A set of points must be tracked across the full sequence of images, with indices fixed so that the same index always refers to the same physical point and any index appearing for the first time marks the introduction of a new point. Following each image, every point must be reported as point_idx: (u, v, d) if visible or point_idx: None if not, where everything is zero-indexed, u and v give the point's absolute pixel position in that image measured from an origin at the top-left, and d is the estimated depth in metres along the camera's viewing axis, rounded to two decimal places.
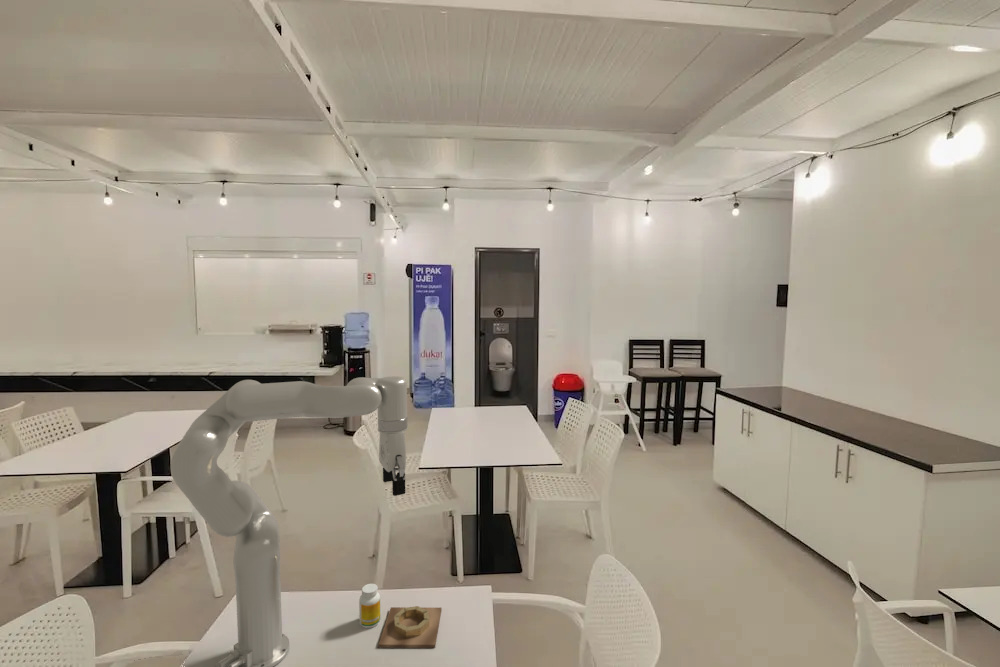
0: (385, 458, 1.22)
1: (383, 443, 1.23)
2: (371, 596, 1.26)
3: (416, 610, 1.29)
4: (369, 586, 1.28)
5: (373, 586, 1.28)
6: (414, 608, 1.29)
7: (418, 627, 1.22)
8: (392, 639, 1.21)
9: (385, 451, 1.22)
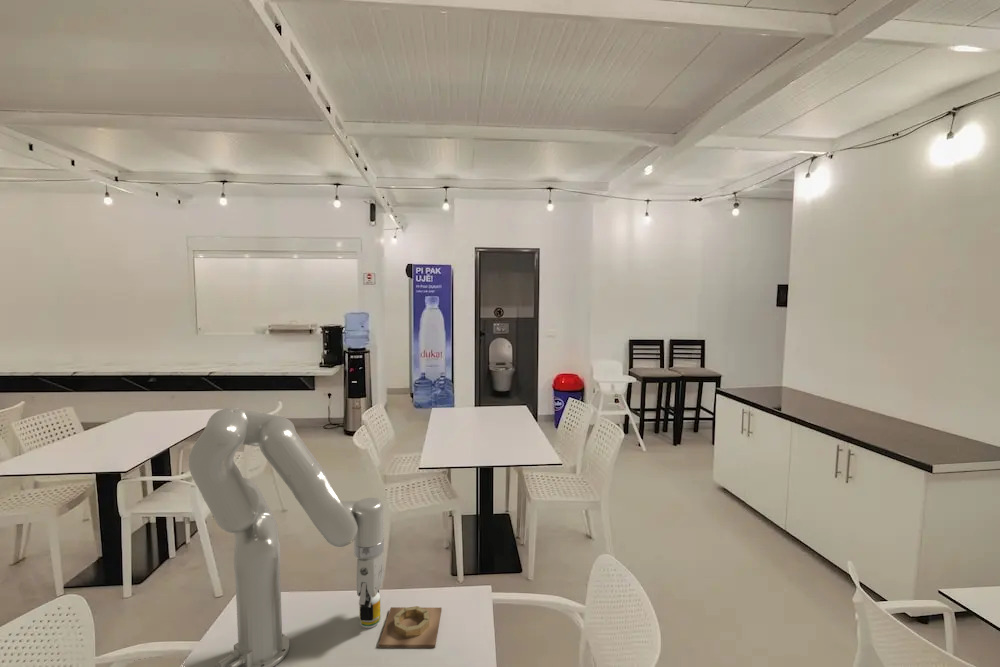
0: (382, 569, 1.30)
1: (381, 560, 1.28)
2: None
3: (416, 610, 1.29)
4: None
5: None
6: (414, 608, 1.29)
7: (418, 627, 1.22)
8: (392, 639, 1.21)
9: (382, 562, 1.30)
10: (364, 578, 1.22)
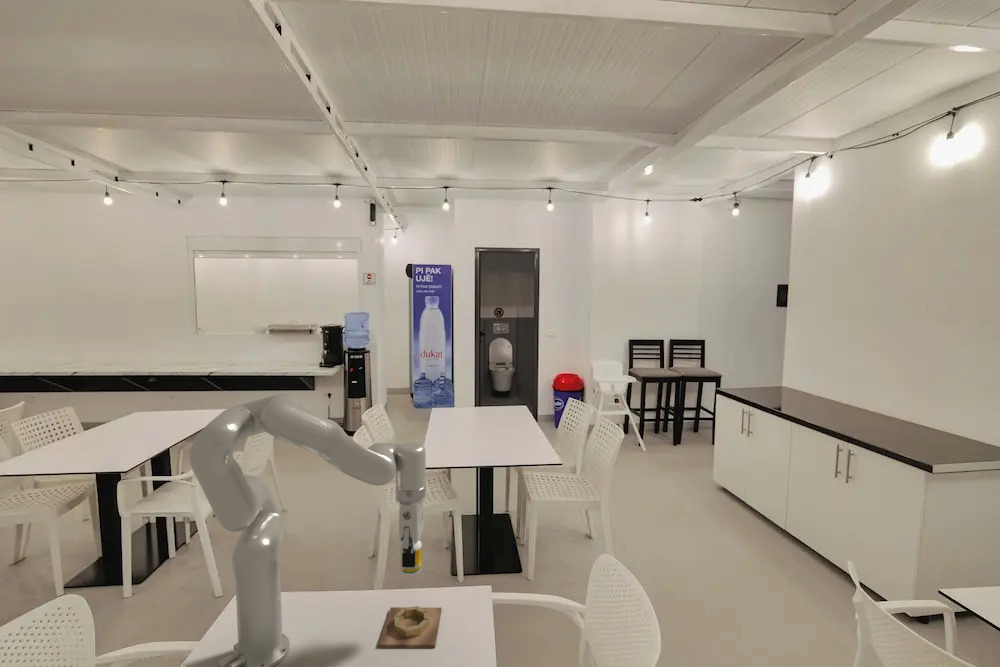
0: (423, 516, 1.26)
1: (422, 506, 1.24)
2: None
3: (416, 610, 1.29)
4: None
5: None
6: (414, 608, 1.29)
7: (418, 627, 1.22)
8: (392, 639, 1.21)
9: (423, 510, 1.26)
10: (407, 522, 1.18)
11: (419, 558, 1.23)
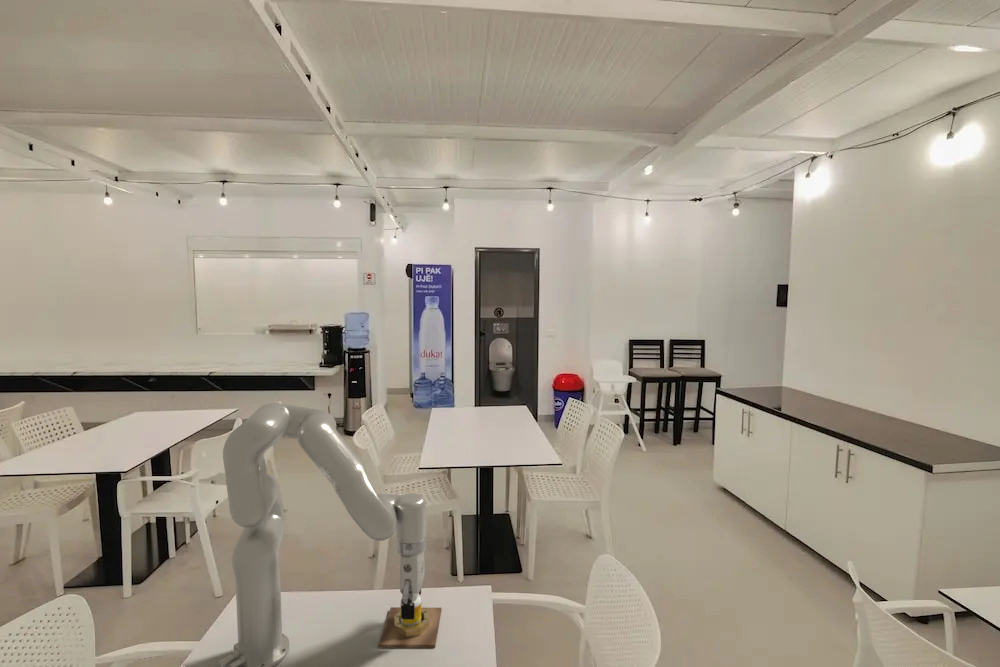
0: (423, 566, 1.27)
1: (422, 557, 1.25)
2: (413, 599, 1.23)
3: None
4: (410, 589, 1.25)
5: None
6: None
7: (418, 627, 1.22)
8: (392, 639, 1.21)
9: (423, 559, 1.27)
10: (408, 575, 1.19)
11: (419, 614, 1.24)
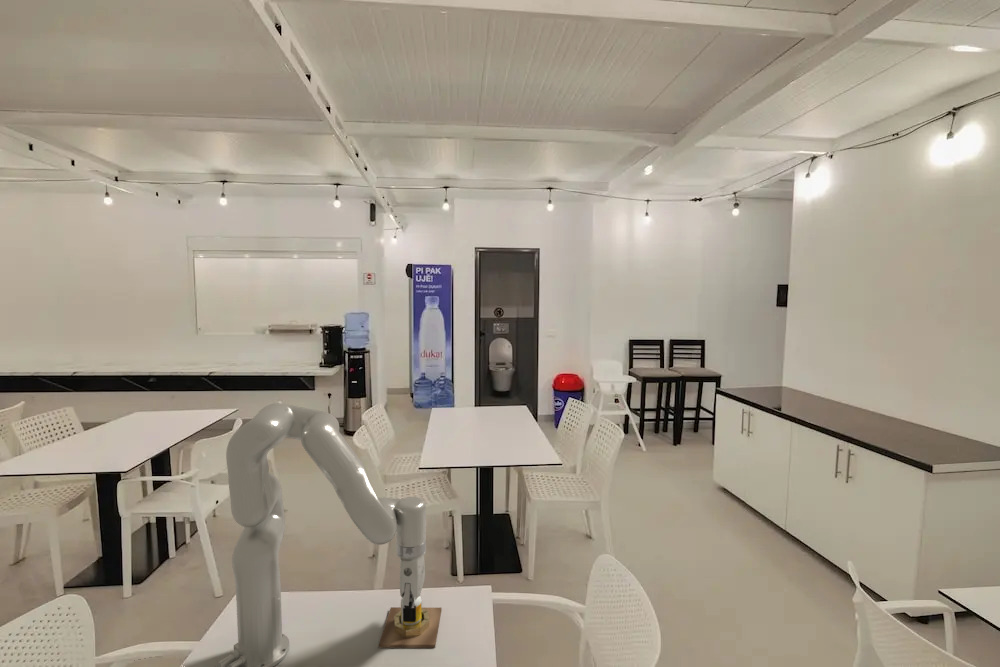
0: None
1: (423, 560, 1.25)
2: None
3: None
4: None
5: None
6: None
7: (418, 627, 1.22)
8: (392, 639, 1.21)
9: (423, 563, 1.27)
10: (408, 579, 1.19)
11: (419, 614, 1.24)
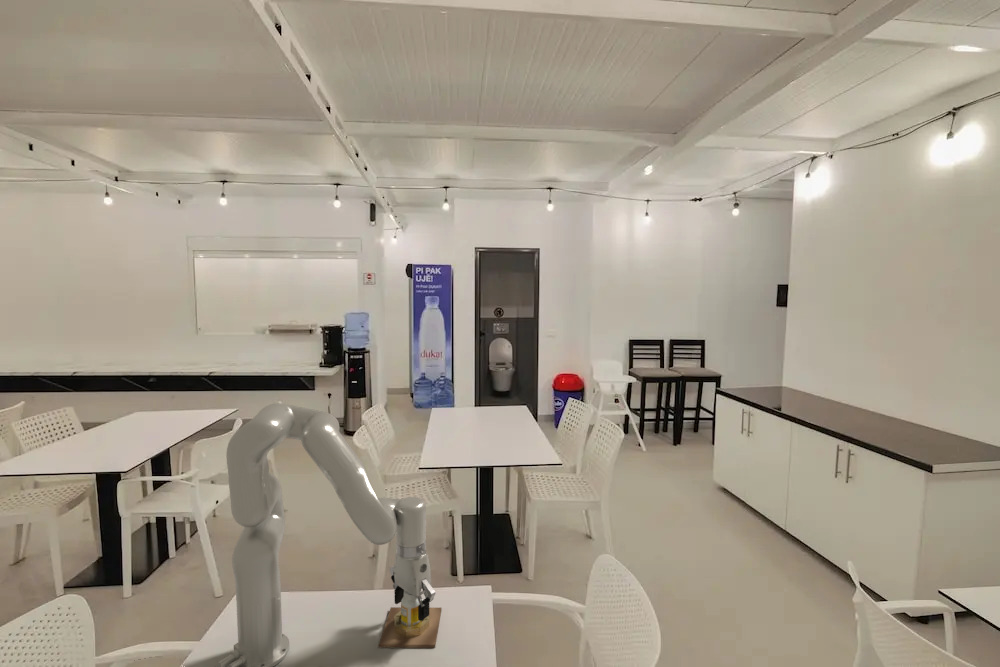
0: None
1: None
2: None
3: None
4: None
5: None
6: None
7: (418, 627, 1.22)
8: (392, 639, 1.21)
9: None
10: (424, 575, 1.21)
11: None
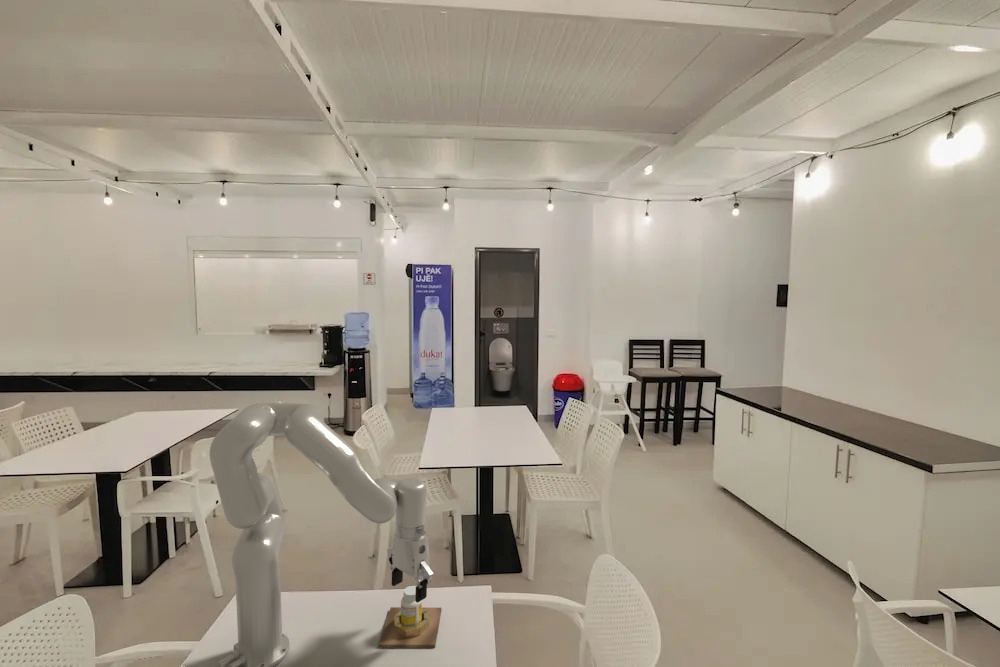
0: None
1: None
2: None
3: None
4: (408, 591, 1.25)
5: (408, 588, 1.26)
6: None
7: (418, 627, 1.22)
8: (392, 639, 1.21)
9: None
10: (422, 556, 1.21)
11: None
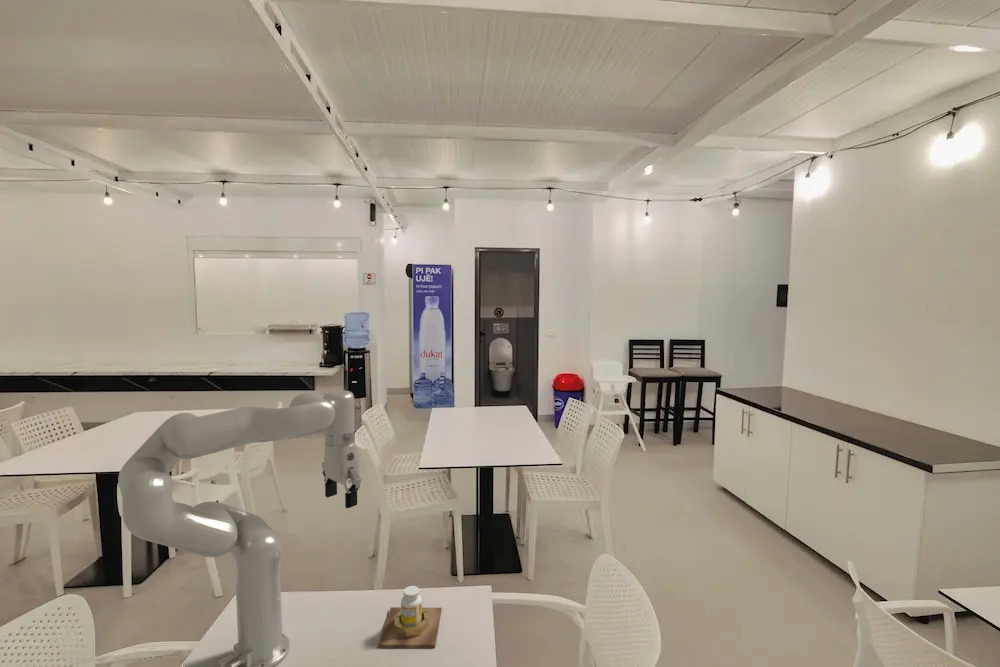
0: None
1: None
2: None
3: None
4: (408, 591, 1.25)
5: (408, 588, 1.26)
6: None
7: (418, 627, 1.22)
8: (392, 639, 1.21)
9: None
10: (351, 463, 1.23)
11: None
